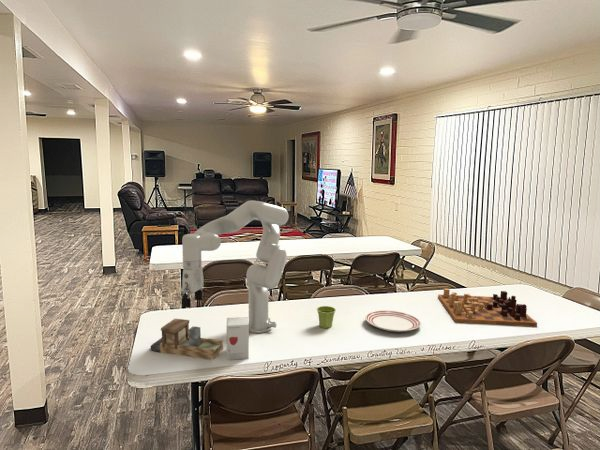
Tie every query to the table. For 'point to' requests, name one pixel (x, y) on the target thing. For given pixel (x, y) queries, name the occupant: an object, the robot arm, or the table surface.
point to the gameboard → (486, 309)
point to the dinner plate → (393, 320)
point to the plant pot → (326, 316)
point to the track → (204, 350)
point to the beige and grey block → (193, 337)
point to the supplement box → (237, 338)
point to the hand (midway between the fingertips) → (192, 303)
